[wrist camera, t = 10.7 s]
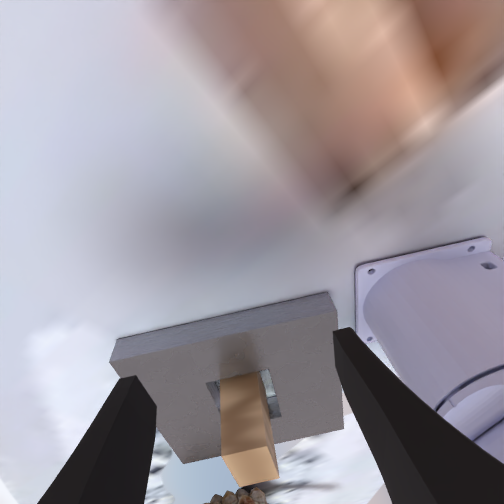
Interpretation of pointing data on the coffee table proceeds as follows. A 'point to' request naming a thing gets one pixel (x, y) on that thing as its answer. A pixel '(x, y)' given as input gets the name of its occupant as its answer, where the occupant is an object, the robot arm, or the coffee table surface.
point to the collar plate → (239, 371)
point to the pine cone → (240, 497)
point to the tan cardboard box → (247, 430)
